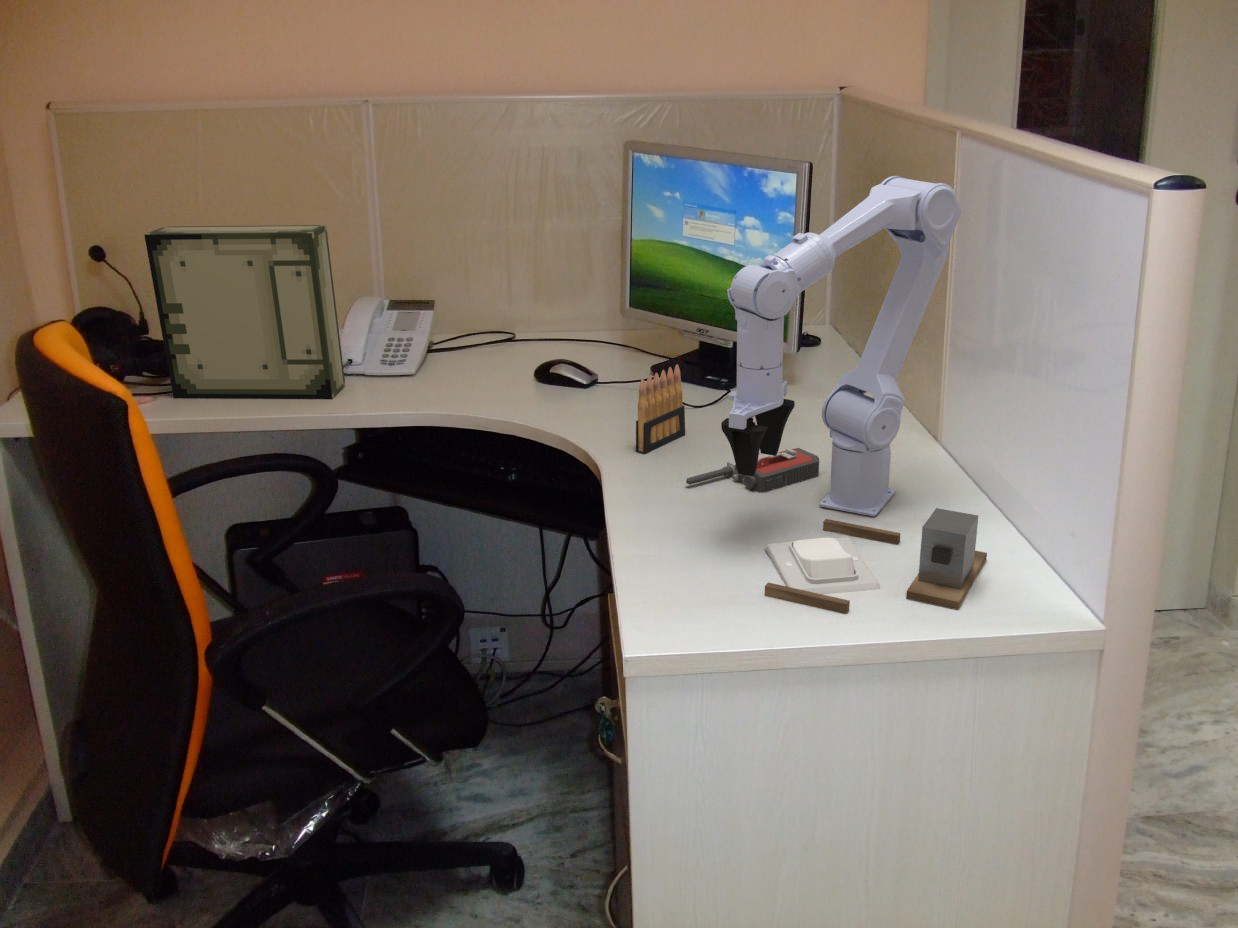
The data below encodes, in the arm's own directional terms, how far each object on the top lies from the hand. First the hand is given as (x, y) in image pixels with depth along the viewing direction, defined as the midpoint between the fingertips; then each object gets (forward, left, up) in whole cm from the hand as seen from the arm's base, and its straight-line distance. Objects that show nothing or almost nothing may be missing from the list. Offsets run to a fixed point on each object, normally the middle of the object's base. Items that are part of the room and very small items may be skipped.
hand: (757, 463), depth 149 cm
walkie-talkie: (-16, -7, -10) cm, 20 cm away
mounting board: (+3, +26, -9) cm, 28 cm away
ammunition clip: (-23, -26, -10) cm, 36 cm away
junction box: (+4, +26, -8) cm, 28 cm away
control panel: (-15, -105, -10) cm, 107 cm away
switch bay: (+6, +13, -9) cm, 17 cm away
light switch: (+7, +11, -10) cm, 17 cm away
